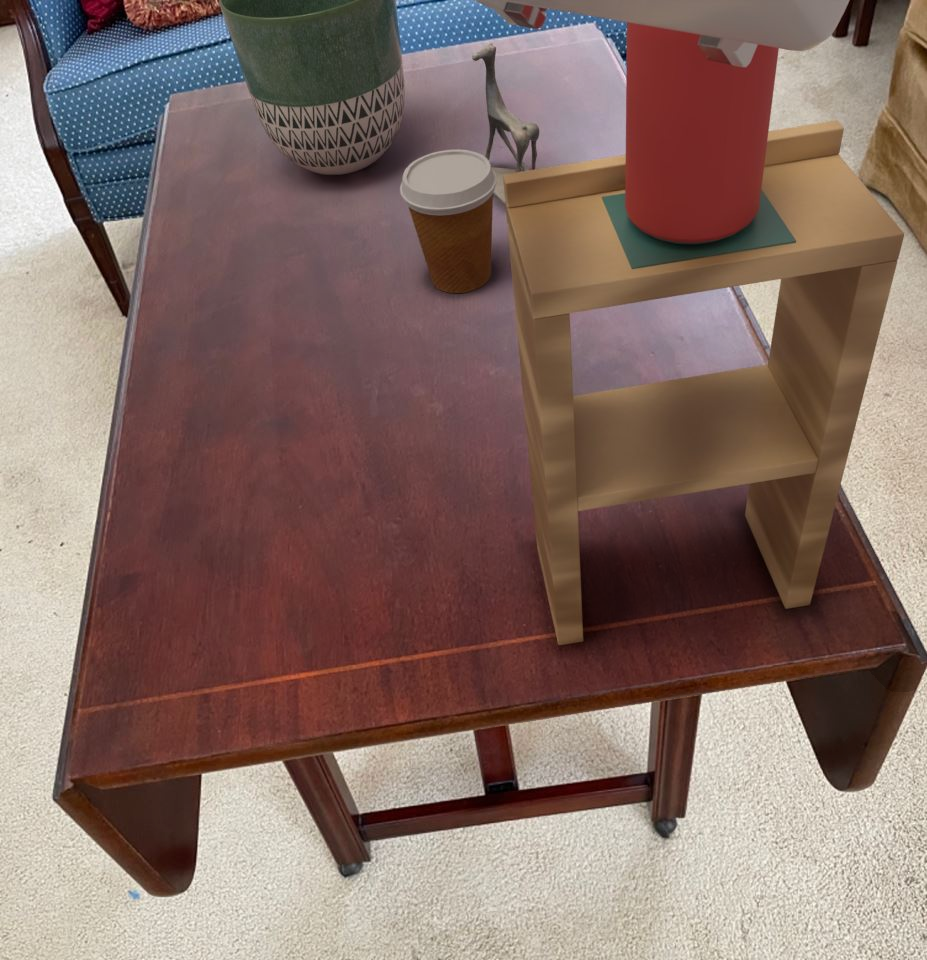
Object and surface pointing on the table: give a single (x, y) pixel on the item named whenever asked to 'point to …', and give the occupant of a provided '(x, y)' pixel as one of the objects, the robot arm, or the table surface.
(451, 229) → the disposable coffee cup
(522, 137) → the figurine
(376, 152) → the planter
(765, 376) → the shelf
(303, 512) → the table surface
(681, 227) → the beer can
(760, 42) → the robot arm
